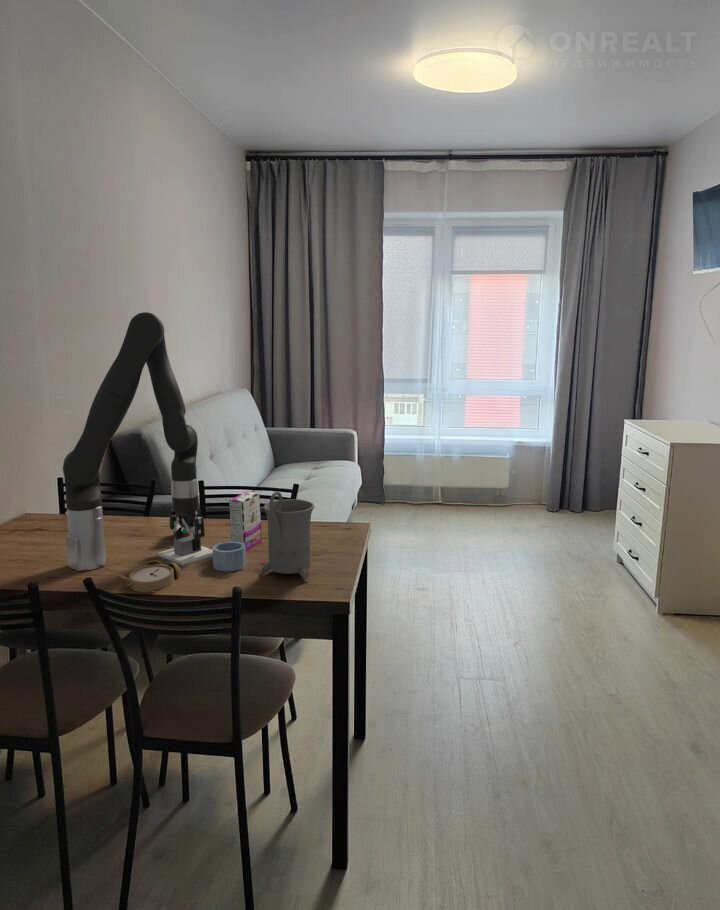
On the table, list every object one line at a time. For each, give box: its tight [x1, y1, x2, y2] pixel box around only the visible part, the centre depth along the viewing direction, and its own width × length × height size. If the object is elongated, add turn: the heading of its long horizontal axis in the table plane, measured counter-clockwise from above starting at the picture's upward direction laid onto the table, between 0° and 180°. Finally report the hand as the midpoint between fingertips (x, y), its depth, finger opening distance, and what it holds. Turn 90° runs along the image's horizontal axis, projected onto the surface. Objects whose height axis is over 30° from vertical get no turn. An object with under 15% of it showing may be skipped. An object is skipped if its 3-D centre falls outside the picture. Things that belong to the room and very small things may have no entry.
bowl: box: [211, 540, 247, 573], centre depth 191 cm, size 9×9×6 cm
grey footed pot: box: [258, 490, 315, 583], centre depth 183 cm, size 19×15×25 cm
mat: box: [154, 554, 213, 568], centre depth 200 cm, size 14×14×1 cm
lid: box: [158, 536, 213, 565], centre depth 199 cm, size 12×12×5 cm
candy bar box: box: [228, 491, 263, 553], centre depth 207 cm, size 11×5×16 cm, turn 161°
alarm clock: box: [126, 560, 182, 593], centre depth 180 cm, size 11×5×15 cm
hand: (187, 547), depth 199 cm, fingers open, 8 cm apart
